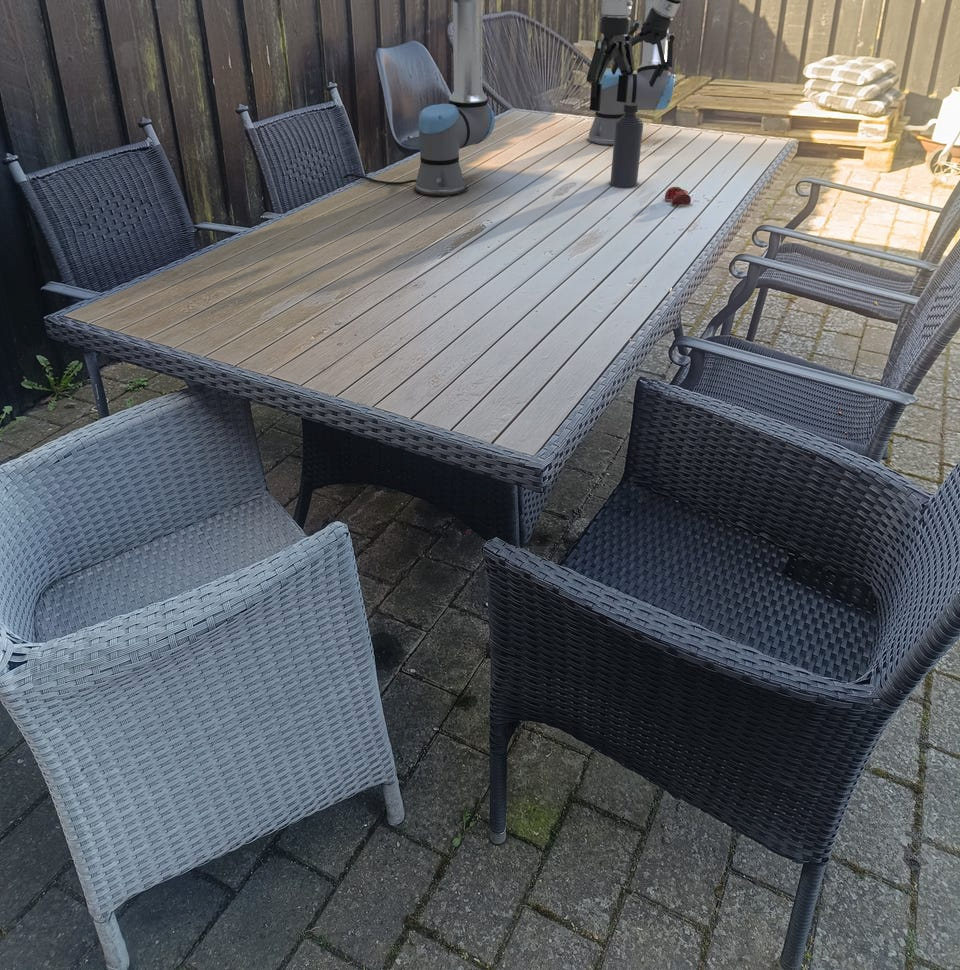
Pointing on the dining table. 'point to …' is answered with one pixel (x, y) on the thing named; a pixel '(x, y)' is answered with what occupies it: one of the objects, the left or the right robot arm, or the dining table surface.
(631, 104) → the cap
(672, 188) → the dental model
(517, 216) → the dining table surface
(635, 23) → the right robot arm
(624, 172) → the bottle
